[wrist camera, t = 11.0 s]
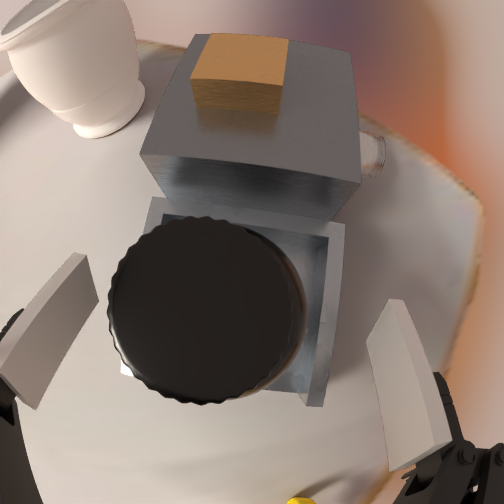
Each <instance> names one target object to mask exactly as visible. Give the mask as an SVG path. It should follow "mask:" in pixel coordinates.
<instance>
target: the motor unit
mask: <svg viewBox="0 0 504 504" xmlns="http://www.w3.org/2000/svg"><path fill="white" fill-rule="evenodd" d="M385 154H386V146H385V141H384V138H383V137H382V136H378V135H375V134H371V133H368V132H364V131H360V130H359V121H358V110H357V100H356V91H355V83H354V75H353V68H352V61H351V55H350V53H349V52H345V51H341V50H337V49H333V48H329V47H324V46H319V45H314V44H309V43H303V42H298V41H291V40H289V39H284V38H276V37H268V36H258V35H246V34H244V35H243V34H225V33H211V34H196V35H195V36H194V37H193V39H192V41H191V43H190V44H189V46H188V48H187V50H186V52H185V53H184V55H183V57H182V59H181V61H180V63H179V65H178V67H177V69H176V71H175V72H174V74H173V76H172V78H171V81H170V83H169V85H168V87H167V89H166V91H165V93H164V95H163V97H162V100H161V102H160V104H159V106H158V109H157V111H156V113H155V116H154V118H153V120H152V123H151V125H150V128H149V130H148V133H147V135H146V138H145V140H144V143H143V145H142V148H141V151H140V154H139V155H140V157H141V158H142V160H143V161H144V163H145V165H146V166H147V168H148V169H149V171H150V172H151V174H152V176H153V177H154V179H155V180H156V182H157V183H158V185H159V186H160V188H161V190H162V191H163V193H164V194H165V196H166V197H167V198H160V197H152V201H151V204H150V208H149V212H148V216H147V220H146V224H145V228H144V232H143V235H144V234H147V233H150V232H151V231H152V229H153V228H154V227H155V226H158V225H165V224H166V223H167V222H168V221H170V220H171V219H183V218H185V217H187V216H194V217H196V218H200V217H204V216H209V217H211V218H213V219H214V220H220V219H225V220H227V221H228V222H229V223H230V224H235V225H239V226H243V227H246V228H249V229H252V230H254V231H256V232H258V233H260V234H262V235H263V236H265V237H267V238H268V239H269V240H271V241H272V242H273V243H275V244H276V245H277V246H278V247H279V248H280V249H281V250H282V251H283V252H284V253H285V254H286V255H287V256H288V258H289V259H290V260H291V262H292V263H293V265H294V266H295V268H296V270H297V272H298V274H299V276H300V278H301V281H302V283H303V286H304V290H305V294H306V300H307V312H308V315H307V326H306V332H305V336H304V339H303V342H302V345H301V347H300V350H299V352H298V354H297V356H296V357H295V359H294V360H293V362H292V364H291V365H290V366H289V367H288V369H287V370H286V371H285V372H284V373H283V374H282V375H281V376H280V377H279V378H278V379H277V380H276V381H274V382H273V383H272V384H270V385H269V386H267V387H266V388H264V389H263V390H271V391H281V392H293V393H298V395H299V396H300V398H301V399H302V401H303V402H304V404H305V405H306V406H312V407H323V402H324V397H325V392H326V387H327V382H328V376H329V371H330V365H331V359H332V353H333V346H334V339H335V332H336V325H337V317H338V309H339V300H340V291H341V281H342V269H343V257H344V242H345V224H343V223H337V222H332V221H331V219H332V218H333V217H334V216H335V215H336V214H337V212H338V211H339V210H340V209H341V208H342V206H343V205H344V204H345V203H346V202H347V200H348V199H349V198H350V197H351V196H352V194H353V193H354V192H355V191H356V190H357V188H358V187H359V186H360V185H361V175H362V176H366V177H371V178H376V177H377V176H378V175H379V174H380V172H381V170H382V167H383V164H384V161H385ZM120 373H123V374H126V375H129V376H133V377H134V375H133V374H132V372H131V370H130V368H129V367H127V366H126V365H125V364H124V363H123V361H121V372H120Z"/></svg>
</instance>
